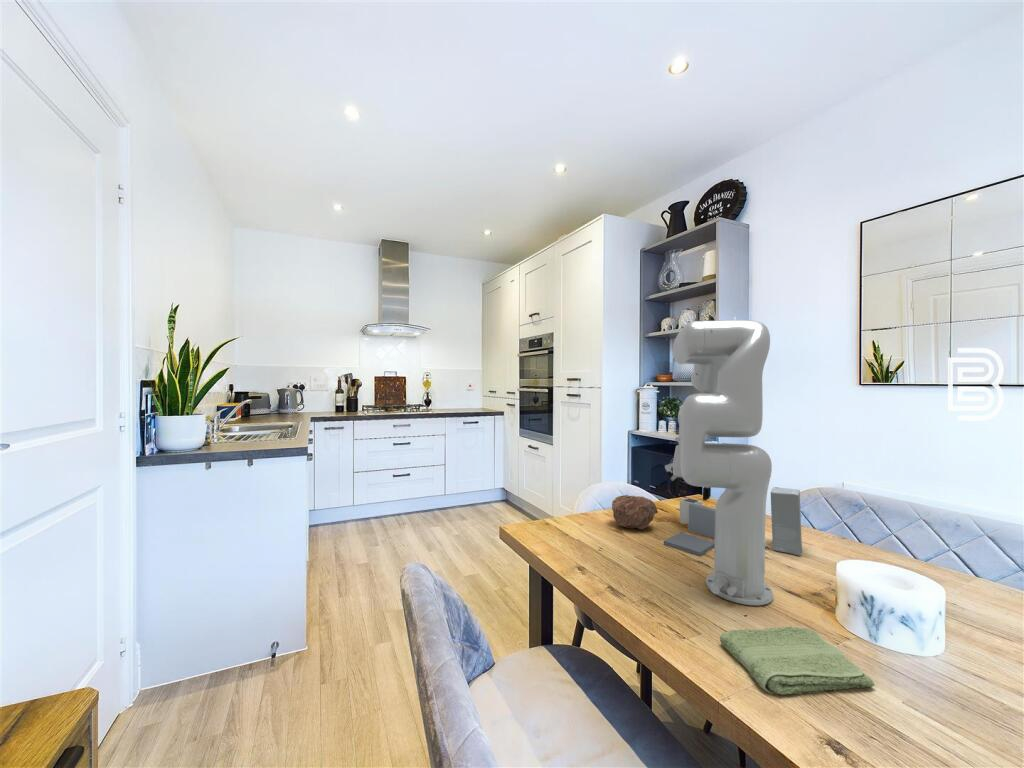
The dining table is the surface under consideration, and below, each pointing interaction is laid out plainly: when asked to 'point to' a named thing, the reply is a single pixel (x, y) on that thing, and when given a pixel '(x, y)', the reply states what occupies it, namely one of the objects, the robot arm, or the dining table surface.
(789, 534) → the skincare box
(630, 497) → the decorative rock
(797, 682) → the washcloth
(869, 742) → the dining table surface
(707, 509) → the screen
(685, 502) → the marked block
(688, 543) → the mat
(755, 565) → the robot arm
